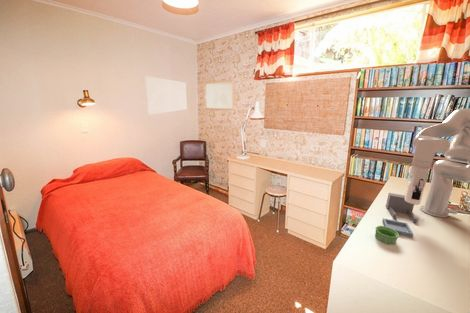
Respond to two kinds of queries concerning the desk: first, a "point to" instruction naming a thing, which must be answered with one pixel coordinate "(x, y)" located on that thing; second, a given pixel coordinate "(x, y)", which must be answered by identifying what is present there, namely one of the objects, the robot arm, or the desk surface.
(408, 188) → the can
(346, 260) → the desk surface
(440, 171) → the robot arm
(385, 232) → the ramekin
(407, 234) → the tray
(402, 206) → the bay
